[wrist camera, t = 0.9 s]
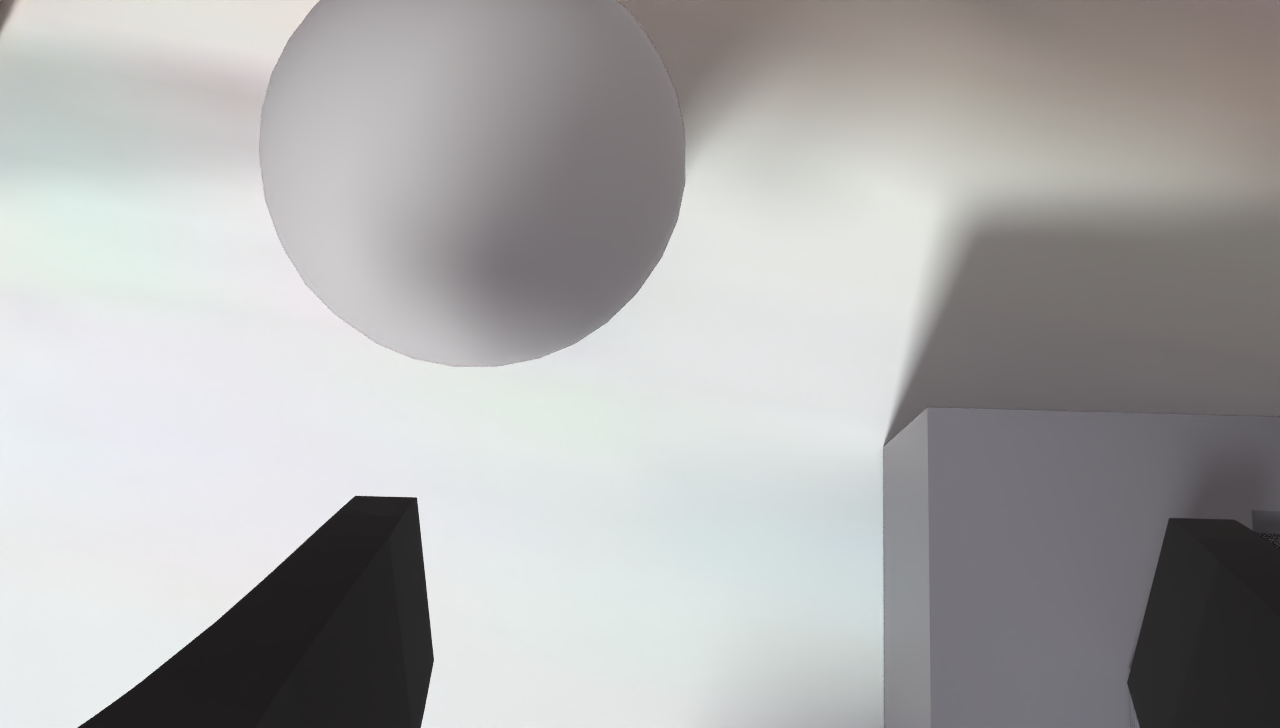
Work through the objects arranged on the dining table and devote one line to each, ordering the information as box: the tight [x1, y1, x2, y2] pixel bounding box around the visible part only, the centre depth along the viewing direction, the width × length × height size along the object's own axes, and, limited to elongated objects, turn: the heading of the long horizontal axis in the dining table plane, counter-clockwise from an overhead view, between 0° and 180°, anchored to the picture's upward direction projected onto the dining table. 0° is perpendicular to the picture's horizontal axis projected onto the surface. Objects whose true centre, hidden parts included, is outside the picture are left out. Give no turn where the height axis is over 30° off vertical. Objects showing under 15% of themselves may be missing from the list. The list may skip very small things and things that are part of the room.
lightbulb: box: [259, 0, 685, 367], centre depth 20 cm, size 6×6×11 cm
